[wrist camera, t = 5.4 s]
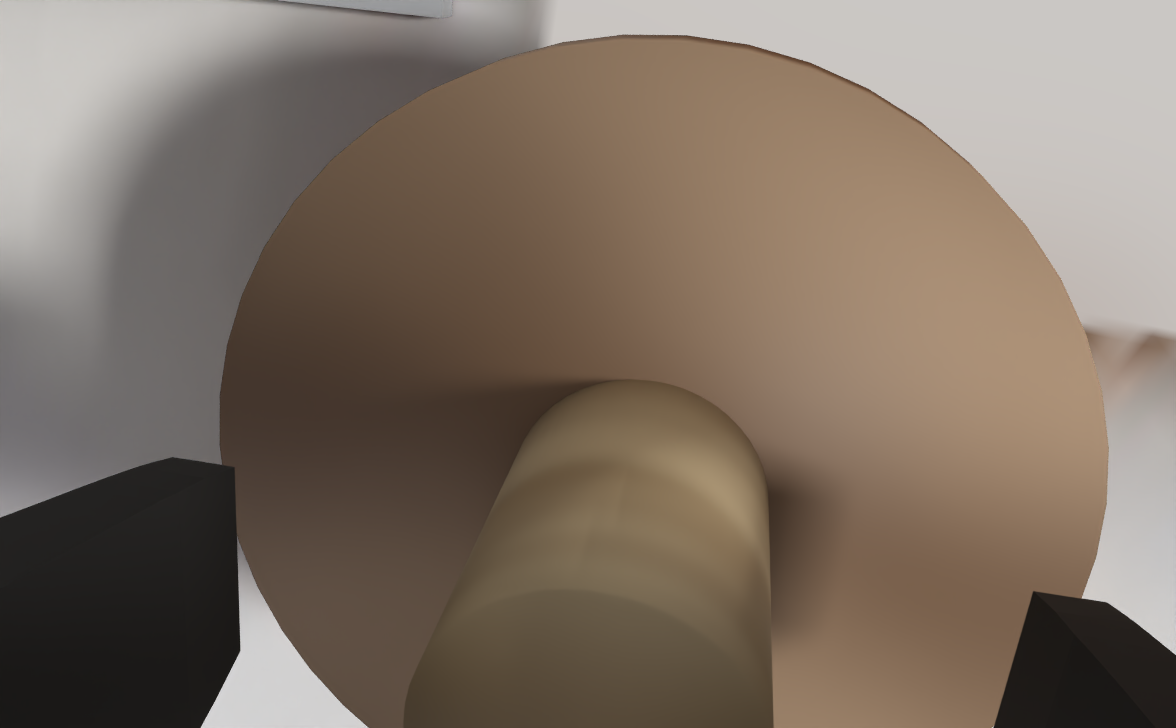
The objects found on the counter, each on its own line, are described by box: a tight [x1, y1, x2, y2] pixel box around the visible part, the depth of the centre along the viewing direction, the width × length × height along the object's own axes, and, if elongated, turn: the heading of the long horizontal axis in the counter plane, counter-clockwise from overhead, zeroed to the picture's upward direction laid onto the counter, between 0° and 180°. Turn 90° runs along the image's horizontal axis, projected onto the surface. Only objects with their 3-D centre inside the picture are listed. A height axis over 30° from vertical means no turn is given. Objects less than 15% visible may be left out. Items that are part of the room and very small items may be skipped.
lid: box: [220, 35, 1109, 728], centre depth 10 cm, size 10×10×5 cm
